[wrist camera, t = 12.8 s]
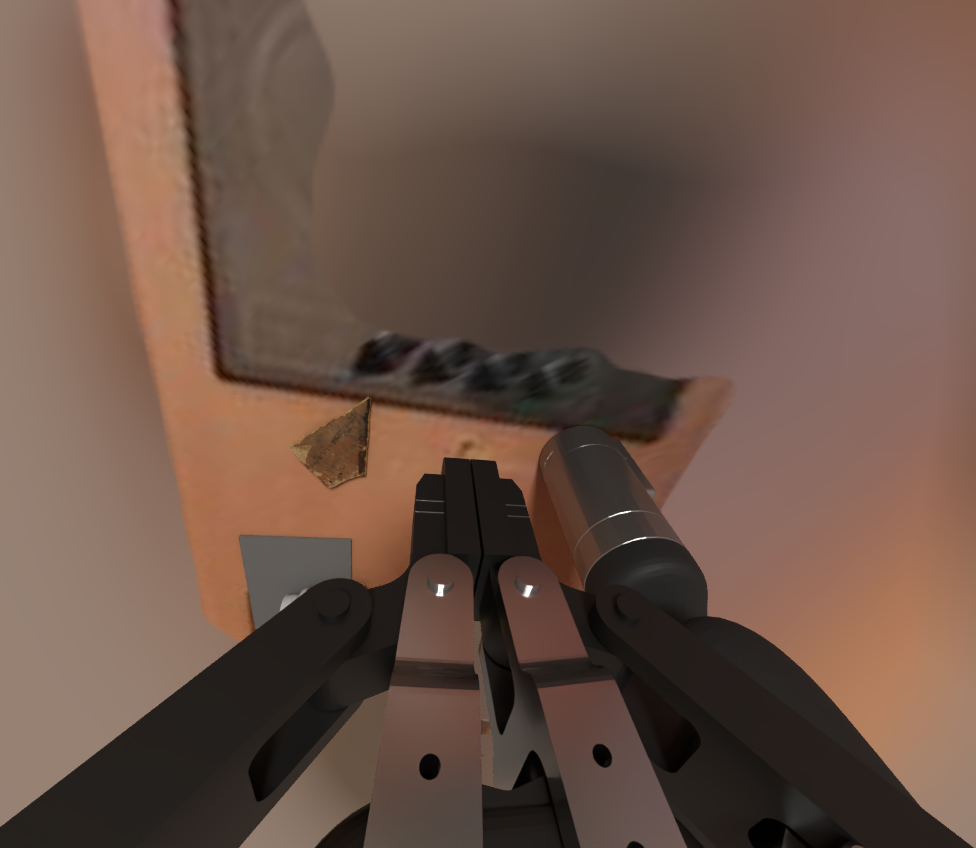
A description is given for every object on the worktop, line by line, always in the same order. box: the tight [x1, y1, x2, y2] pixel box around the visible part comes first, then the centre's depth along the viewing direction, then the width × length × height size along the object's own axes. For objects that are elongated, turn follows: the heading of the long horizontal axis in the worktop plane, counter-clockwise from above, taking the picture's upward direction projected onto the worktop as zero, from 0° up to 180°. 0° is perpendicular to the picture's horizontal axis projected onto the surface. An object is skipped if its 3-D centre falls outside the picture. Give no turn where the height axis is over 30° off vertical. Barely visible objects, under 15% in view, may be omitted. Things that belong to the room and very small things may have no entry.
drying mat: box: [239, 535, 352, 629], centre depth 54 cm, size 13×18×1 cm
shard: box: [290, 397, 371, 488], centre depth 44 cm, size 11×8×2 cm
